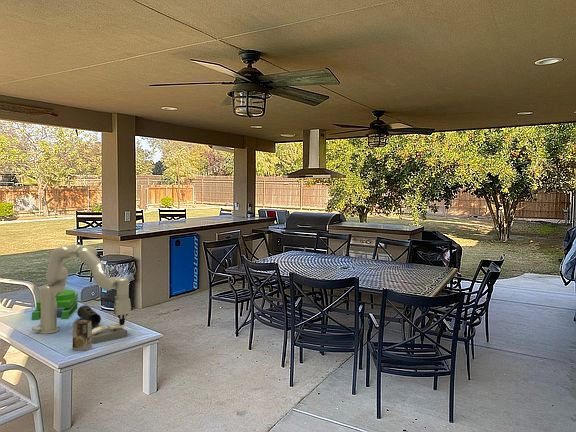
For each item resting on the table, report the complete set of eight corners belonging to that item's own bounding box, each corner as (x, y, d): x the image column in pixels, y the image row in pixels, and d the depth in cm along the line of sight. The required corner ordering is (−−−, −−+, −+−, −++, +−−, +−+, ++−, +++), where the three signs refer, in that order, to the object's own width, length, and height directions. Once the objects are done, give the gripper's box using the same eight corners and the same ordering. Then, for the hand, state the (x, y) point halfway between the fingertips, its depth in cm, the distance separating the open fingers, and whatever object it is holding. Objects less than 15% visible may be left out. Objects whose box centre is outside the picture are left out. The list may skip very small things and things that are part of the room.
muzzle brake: (86, 329, 295) (87, 314, 294) (76, 319, 316) (76, 305, 316) (101, 327, 301) (101, 312, 300) (90, 317, 322) (90, 303, 322)
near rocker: (92, 334, 269) (91, 333, 269) (88, 333, 272) (88, 331, 272) (106, 328, 275) (105, 326, 275) (102, 326, 279) (102, 324, 279)
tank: (28, 323, 305) (28, 300, 304) (44, 309, 338) (44, 289, 338) (66, 322, 310) (66, 300, 310) (77, 309, 344) (78, 288, 343)
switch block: (93, 343, 266) (93, 335, 266) (85, 339, 274) (85, 331, 274) (127, 336, 283) (127, 328, 282) (118, 332, 291) (118, 324, 290)
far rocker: (110, 328, 278) (110, 326, 278) (107, 327, 281) (107, 325, 281) (124, 327, 284) (124, 325, 284) (120, 325, 288) (120, 323, 288)
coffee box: (92, 346, 262) (92, 320, 261) (87, 350, 255) (88, 323, 255) (76, 346, 262) (77, 319, 261) (71, 349, 255) (72, 322, 254)
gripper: (114, 299, 277) (113, 327, 278) (135, 296, 288) (135, 323, 289) (108, 297, 282) (108, 325, 283) (130, 294, 293) (129, 321, 294)
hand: (122, 324), depth 286 cm, fingers closed
